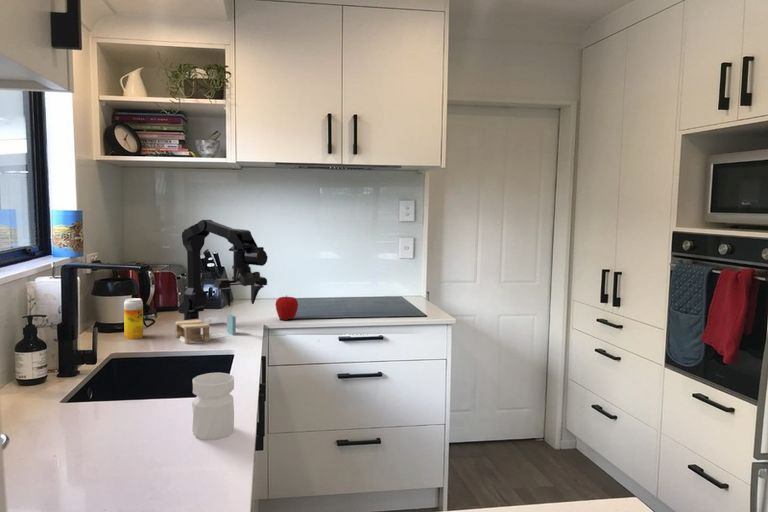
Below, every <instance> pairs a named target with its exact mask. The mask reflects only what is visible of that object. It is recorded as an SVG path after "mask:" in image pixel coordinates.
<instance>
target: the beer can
mask: <svg viewBox="0 0 768 512" xmlns="http://www.w3.org/2000/svg"><path fill="white" fill-rule="evenodd" d="M143 303H144V302H143V299H142V298H138V297H137V298H135V297H132V298H130V297H129V298H125V300H124V302H123V320H124V322H123V323H124V324H123V325H124V328H123V329H124V333H123V334H124V339H127V340H135V339H141V338H143V337H144V304H143Z"/></svg>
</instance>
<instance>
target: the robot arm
mask: <svg viewBox="0 0 768 512" xmlns="http://www.w3.org/2000/svg"><path fill="white" fill-rule="evenodd" d="M210 233H212V234H213V235H216V236H219V237H222V238H224V239H225V240H227V243H228V242H229V244H231V245H232V246H231V247H230V248H229V249H228V251H229V252H233V258H232V259H233V263H232V264H233V265H232V266H231V269H232V270H233V273H232V274H233V275H232V277H231V279H228V278H216V279H214V282H213V284H214V285H213V286H214V287H215V288H217V289H219V290H220V291H221V293H222V295H223V297H224V298H225V301H226V304H227V305H228V307H231V290H232V289H231V288H230V286H238V285H239V286H240V285H242V286H243V287H247V286H250V301H251V303H250V304H252V305H254V304H255V301H256V300H257V296H258V294H259V292H260V290H262V288H264V287H265V286H268V279H267V278H266V277H263V276H261V272H259V271H253V272H252V269H251V266H260V267H262V266H265V265H266V264H267V262H268V258H269V257H268V254H267V252H266V251H265V250H264V249H265V247H263V246H259V247H258V245H257V244H258V243H256V241H255V239H254V237H253V235H252V232H251V231H250V230H249V229H241V228H234V227H233V228H232V227H229V226H227V225H225V224H221V223H219V222H216V221H213V220H212V219H201V220H200V221H198V222H197V223H195V224H193V225H191V226H189V227H188V228H185V229H184V230H183V231H182V233H181V241H182V245H183V247H184V248H185V250H186V258H187V259H186V260H187V261H186V262H187V264H186V265H187V288H186V290H185V292H184V293H183V301H182V302H181V304H180V305H179V306H178V307H177V311H178V313H179V314H182V315H183V320H192V319H199V320H200V312H204V310H205V307H206V304H207V302H208V298H207V296H208V292H207V290H204V289H203V287H202V263H201V261H202V260H201V254H202V253H201V251H202V248H203V247H204V246H205V239H206V238H208V237H209V235H210ZM250 265H251V266H250Z"/></svg>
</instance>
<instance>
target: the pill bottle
mask: <svg viewBox="0 0 768 512" xmlns="http://www.w3.org/2000/svg"><path fill="white" fill-rule="evenodd" d="M191 382H192V394H193V395H195V396H196V397H195V398H193V400H192V401H191V403H192V405H191V406H192V434H193V436H194V437H195V439H199V440H200V439H201V440H203V441H204V440H205V441H208V440H209V441H211V440H213V441H214V440H220V439H223V438H226V437H228V436H230V435H231V434H233V433H234V430H235V410H234V409H235V403H234V401H235V400H234V395H232V394H231V393H232V392H233V391H234V389H235V376H234V375H231V374H230V373H226V372H209V373H204V374H200V375H196V376H195V377H193V378H192V381H191Z"/></svg>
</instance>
